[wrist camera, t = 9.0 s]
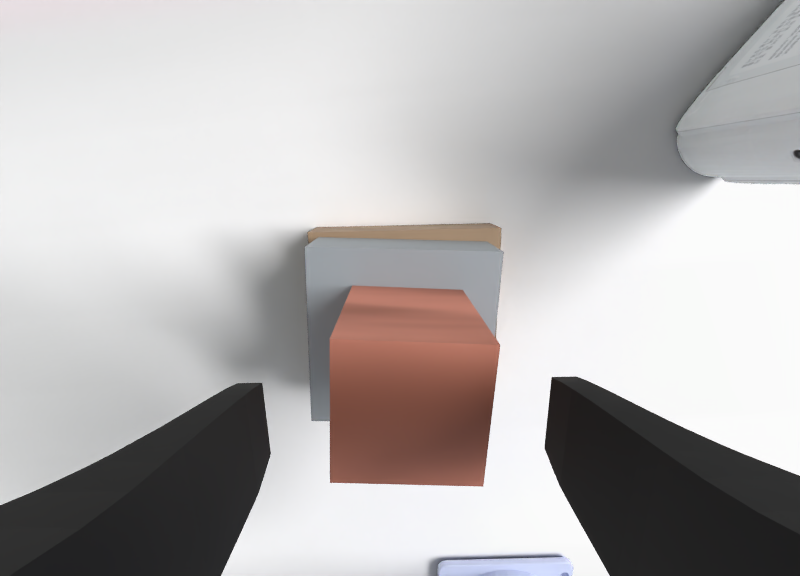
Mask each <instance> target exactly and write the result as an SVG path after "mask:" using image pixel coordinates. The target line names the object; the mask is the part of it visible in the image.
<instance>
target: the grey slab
mask: <svg viewBox="0 0 800 576" xmlns="http://www.w3.org/2000/svg"><path fill="white" fill-rule="evenodd" d="M502 262H503V251H501V250H500V249H498V248H497V247H495V246H493V245H492V244H490V243H489V242H487V241H451V240H412V239H374V238H335V237H318V238H317V239H315V240H314V241H312V242H311V243H309V244H308V245H307V246H305V267H306V292H307V317H308V343H309V368H310V394H311V419H312V421H330V337H331V335H332V332H333V330H334V327H335V325H336V323H337V320H338V318H339V316H340V313H341V311H342V309H343V306H344V304H345V302H346V299H347V297H348V295H349V292H350V290H351V287H352V285H353V286H379V287H404V288H430V289H455V290H463V291H464V292H465V294H466V295H467V297H468V298H469V300H470V301H471V303H472V304H473V306H474V307H475V309H476V310H477V312H478V313H479V315H480V316H481V317H482V319H483V320H484V322H485V323H486V325H487V326H488V328H489V329H490V331H491V332H492V334H493V335H494V337H495V331H496V321H497V311H498V301H499V292H500V282H501V272H502Z"/></svg>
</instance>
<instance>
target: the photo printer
mask: <svg viewBox="0 0 800 576" xmlns="http://www.w3.org/2000/svg"><path fill="white" fill-rule="evenodd" d="M676 131H677V133H678V134H679V135H678V137H677V146H678V151H679V154H680V156H681V158H682V159H683V161H684V162H685V164H686V165H687V166H688V167H689V168H690V169H691V170H693V171H694V172H696V173H698V174H701V175H704V176H709V177H721V178H722V179H723V180H724V181H726V182H733V183H751V184H800V0H784V2H783V3H782V4H781V5H780V6H779V7H778V8H777V9H776V10H775V11H774V12H773V13H772V14H771V16H770V17H769V18H768V19H767V20H766V21H765V22H764V23H763V24H762V25H761V27H760V28H759V29H758V30H757V31H756V32H755V33H754V34H753V35H752V36H751V37H750V39H749V40H748V41H747V42H746V43H745V44H744V45H743V46H742V47H741V49H740V50H739V51H738V52H737V53H736V54H735V55H734V56H733V57H732V58H731V60H730V61H729V62H728V63H727V64H726V65H725V66H724V67H723V69H722V70H721V71H720V72H719V73H718V74H717V75H716V76H715V77H714V78H713V80H712V81H711V82H710V83H709V84H708V86H707V87H706V88H705V89H704V90H703V91H702V93H701V94H700V95H699V96H698V97H697V99H696V100H695V101H694V102H693V104H692V105H691V106H690V107H689V109H688V110H687V111H686V113H685V114H684V116H683V117H682V118H681V120H680V121H679V123H678V125H677V127H676Z"/></svg>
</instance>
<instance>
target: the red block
mask: <svg viewBox="0 0 800 576" xmlns="http://www.w3.org/2000/svg"><path fill="white" fill-rule="evenodd" d="M499 350H500V344H499V343H498V341H497V340H496V338H495V337H494V335H493V334H492V332H491V331H490V329H489V328H488V326H487V325H486V323H485V322H484V320H483V319H482V317H481V316H480V315H479V313H478V312H477V310H476V309H475V307H474V306H473V304H472V303H471V301H470V300H469V298H468V297H467V295H466V294H465V292H464V291H463V290H455V289H430V288H404V287H379V286H353V285H352V287H351V290H350V292H349V295H348V297H347V299H346V302H345V304H344V306H343V309H342V311H341V313H340V316H339V318H338V320H337V323H336V325H335V327H334V330H333V332H332V335H331V337H330V483H368V484H408V485H449V486H483V483H484V475H485V466H486V458H487V450H488V441H489V433H490V425H491V416H492V408H493V400H494V392H495V383H496V375H497V367H498V358H499Z"/></svg>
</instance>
